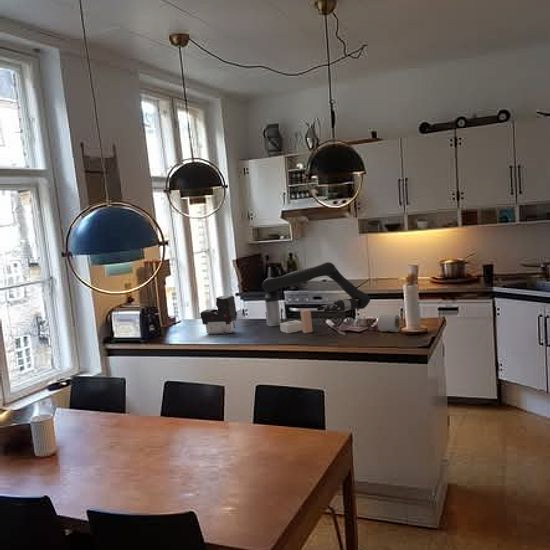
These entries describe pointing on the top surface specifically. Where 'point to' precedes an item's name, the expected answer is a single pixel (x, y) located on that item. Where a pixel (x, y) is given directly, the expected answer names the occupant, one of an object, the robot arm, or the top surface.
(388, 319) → the toilet paper
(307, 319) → the tall brown pillar
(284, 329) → the white square socket block
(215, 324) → the bill acceptor
